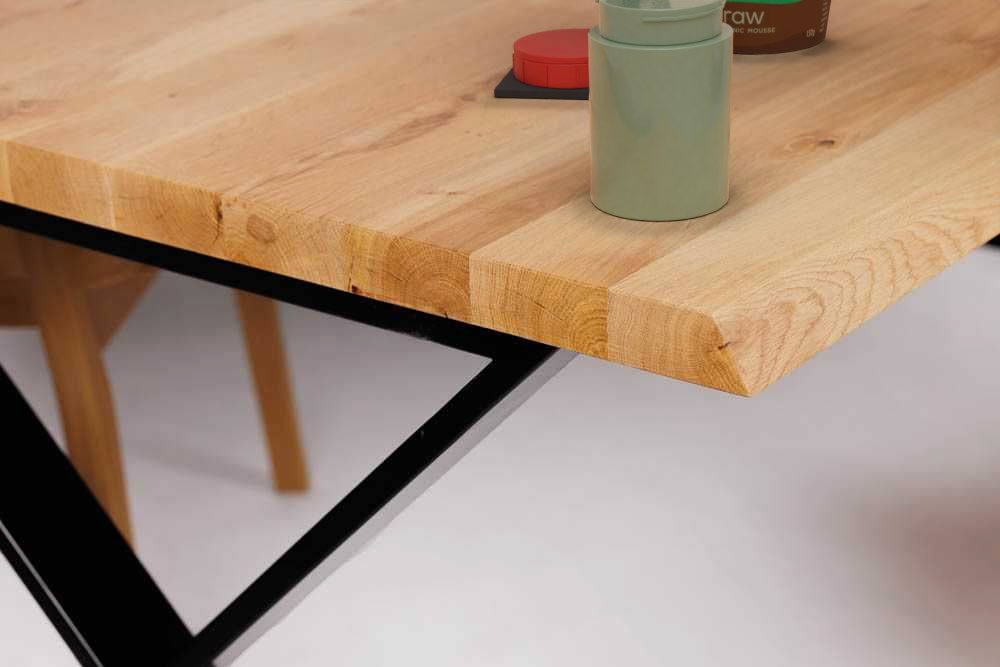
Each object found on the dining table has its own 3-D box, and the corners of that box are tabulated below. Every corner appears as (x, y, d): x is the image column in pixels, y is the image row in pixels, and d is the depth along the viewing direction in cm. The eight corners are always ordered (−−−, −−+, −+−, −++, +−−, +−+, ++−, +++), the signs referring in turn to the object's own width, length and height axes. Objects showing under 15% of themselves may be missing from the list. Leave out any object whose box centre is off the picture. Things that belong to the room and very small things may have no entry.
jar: (734, 176, 71) (740, -20, 67) (722, 224, 65) (727, 13, 61) (602, 172, 73) (600, -21, 69) (579, 218, 67) (575, 11, 63)
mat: (646, 64, 91) (646, 57, 91) (627, 100, 84) (627, 92, 84) (522, 62, 93) (522, 54, 93) (494, 97, 86) (493, 89, 86)
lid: (622, 90, 84) (622, 58, 83) (502, 88, 86) (501, 56, 85) (639, 59, 90) (639, 29, 90) (528, 57, 92) (527, 27, 91)
